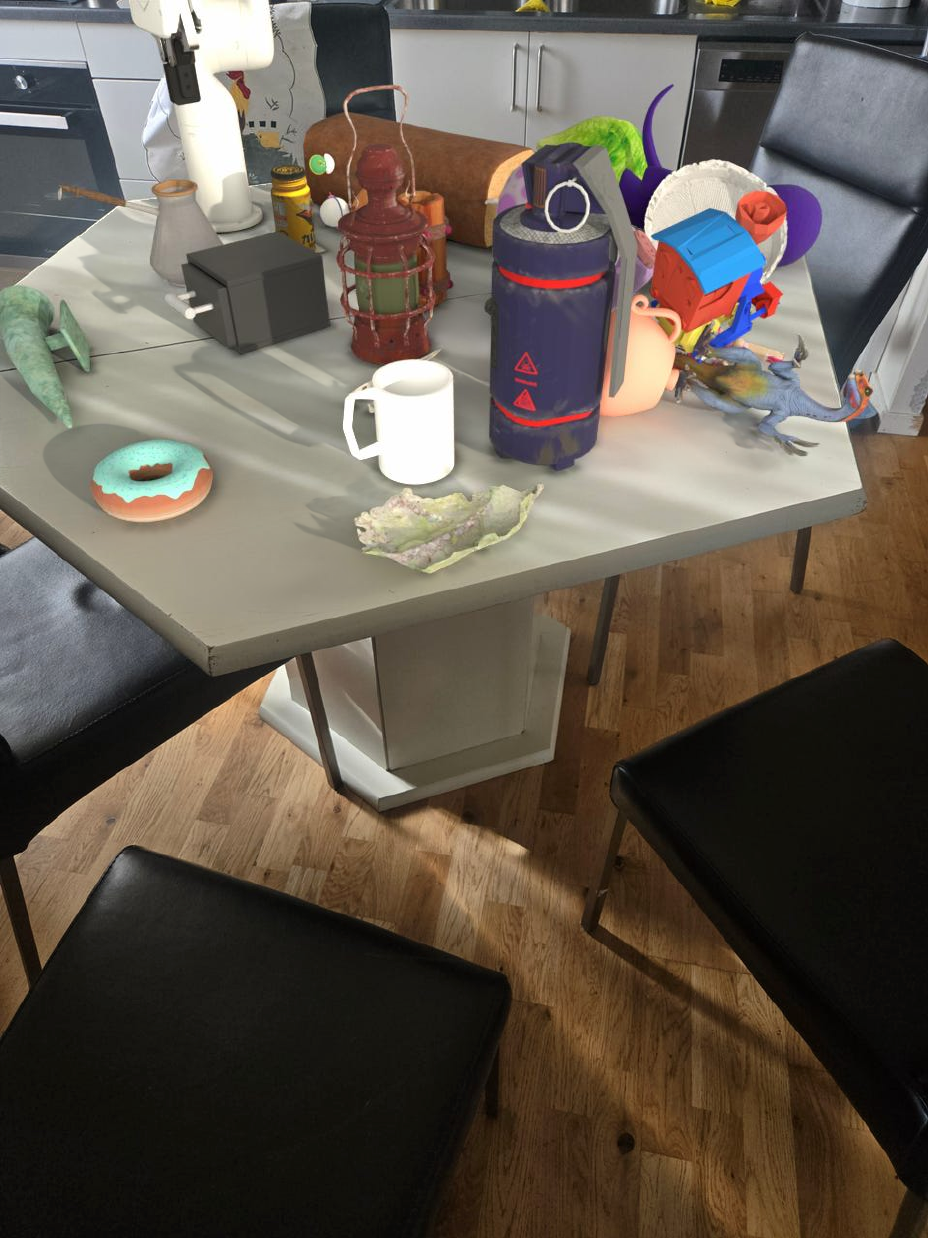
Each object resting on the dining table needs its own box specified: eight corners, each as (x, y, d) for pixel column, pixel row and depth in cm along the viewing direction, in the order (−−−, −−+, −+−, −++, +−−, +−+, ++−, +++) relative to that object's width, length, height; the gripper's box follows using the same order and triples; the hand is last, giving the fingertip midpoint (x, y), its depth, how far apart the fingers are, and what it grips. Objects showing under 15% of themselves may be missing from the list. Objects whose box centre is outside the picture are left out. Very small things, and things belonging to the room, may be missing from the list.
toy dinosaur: (759, 324, 87) (922, 378, 93) (682, 284, 106) (821, 332, 111) (710, 433, 92) (866, 479, 98) (644, 377, 111) (779, 418, 116)
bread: (362, 183, 167) (356, 102, 158) (538, 225, 150) (542, 137, 141) (305, 205, 158) (295, 121, 149) (485, 253, 141) (487, 161, 132)
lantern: (367, 376, 111) (345, 105, 91) (330, 338, 119) (301, 80, 99) (453, 354, 115) (450, 90, 95) (412, 319, 123) (401, 68, 103)
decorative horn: (60, 401, 97) (63, 268, 116) (-37, 431, 97) (-18, 292, 116) (91, 449, 103) (89, 314, 122) (-1, 477, 102) (12, 338, 121)
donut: (212, 525, 89) (204, 492, 86) (87, 534, 87) (75, 500, 85) (219, 461, 97) (213, 429, 95) (106, 468, 96) (96, 436, 93)
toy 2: (626, 137, 130) (540, 81, 104) (709, 269, 128) (643, 245, 103) (537, 219, 139) (438, 186, 114) (613, 343, 138) (531, 338, 112)
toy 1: (329, 153, 149) (345, 145, 142) (348, 229, 154) (365, 225, 147) (298, 159, 147) (313, 152, 141) (318, 236, 152) (334, 233, 146)
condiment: (326, 251, 142) (317, 170, 134) (277, 262, 139) (265, 180, 131) (306, 237, 147) (296, 158, 139) (258, 248, 143) (245, 167, 135)
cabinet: (240, 354, 116) (227, 281, 110) (200, 324, 123) (185, 253, 116) (330, 326, 122) (322, 255, 116) (287, 299, 129) (277, 230, 122)
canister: (471, 459, 97) (472, 160, 77) (512, 409, 105) (522, 126, 85) (593, 488, 93) (628, 180, 73) (625, 433, 101) (665, 142, 81)
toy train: (630, 318, 107) (653, 214, 93) (737, 267, 110) (774, 158, 96) (682, 376, 103) (713, 276, 89) (790, 321, 106) (837, 216, 93)
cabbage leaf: (548, 558, 88) (425, 541, 96) (550, 481, 86) (425, 470, 94) (459, 591, 76) (327, 568, 84) (459, 501, 74) (323, 487, 82)
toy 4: (798, 334, 107) (682, 286, 108) (785, 368, 105) (667, 319, 106) (772, 372, 114) (664, 327, 115) (760, 405, 112) (649, 359, 113)
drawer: (201, 357, 113) (188, 297, 108) (166, 329, 119) (152, 271, 114) (312, 323, 121) (305, 265, 116) (274, 298, 127) (266, 242, 122)
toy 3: (602, 222, 132) (811, 252, 123) (643, 49, 127) (863, 68, 119) (624, 258, 151) (806, 286, 143) (660, 110, 147) (850, 130, 138)
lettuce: (533, 80, 145) (499, 178, 151) (652, 118, 136) (611, 221, 142) (571, 109, 157) (538, 199, 163) (683, 145, 149) (644, 239, 154)
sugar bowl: (570, 425, 100) (657, 451, 101) (615, 304, 91) (709, 334, 92) (574, 381, 110) (653, 406, 110) (615, 269, 101) (700, 296, 102)
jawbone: (377, 415, 104) (376, 399, 103) (345, 405, 106) (343, 390, 105) (456, 363, 116) (456, 348, 115) (426, 355, 118) (425, 341, 117)
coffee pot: (222, 257, 141) (203, 154, 130) (239, 284, 133) (220, 176, 123) (81, 280, 134) (50, 172, 124) (91, 309, 127) (58, 197, 116)
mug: (462, 294, 130) (462, 184, 120) (443, 317, 124) (441, 203, 114) (370, 282, 133) (361, 174, 123) (347, 303, 128) (336, 192, 118)
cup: (334, 464, 97) (324, 379, 90) (433, 435, 101) (430, 352, 94) (365, 502, 92) (357, 415, 85) (468, 471, 96) (467, 385, 89)
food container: (667, 312, 123) (656, 331, 130) (805, 275, 123) (786, 296, 130) (627, 175, 123) (617, 200, 130) (764, 139, 124) (747, 166, 131)
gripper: (86, -101, 95) (130, 93, 108) (142, -88, 87) (183, 122, 99) (153, -106, 98) (188, 84, 111) (213, -93, 90) (244, 110, 102)
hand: (186, 101), depth 105 cm, fingers closed
